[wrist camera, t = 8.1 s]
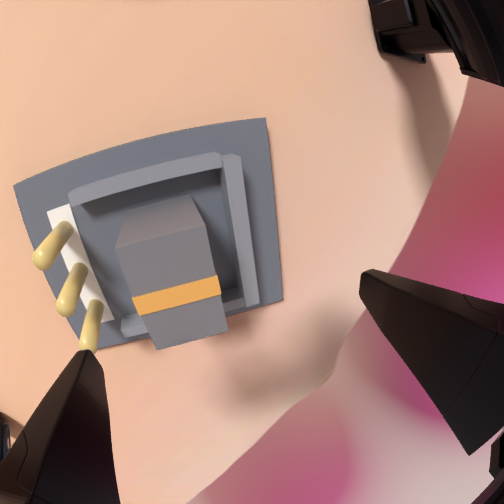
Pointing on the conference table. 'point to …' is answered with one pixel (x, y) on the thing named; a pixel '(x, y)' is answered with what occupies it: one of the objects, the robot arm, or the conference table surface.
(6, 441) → the headphones
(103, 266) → the header socket
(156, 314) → the plug
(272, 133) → the conference table surface
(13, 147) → the conference table surface
